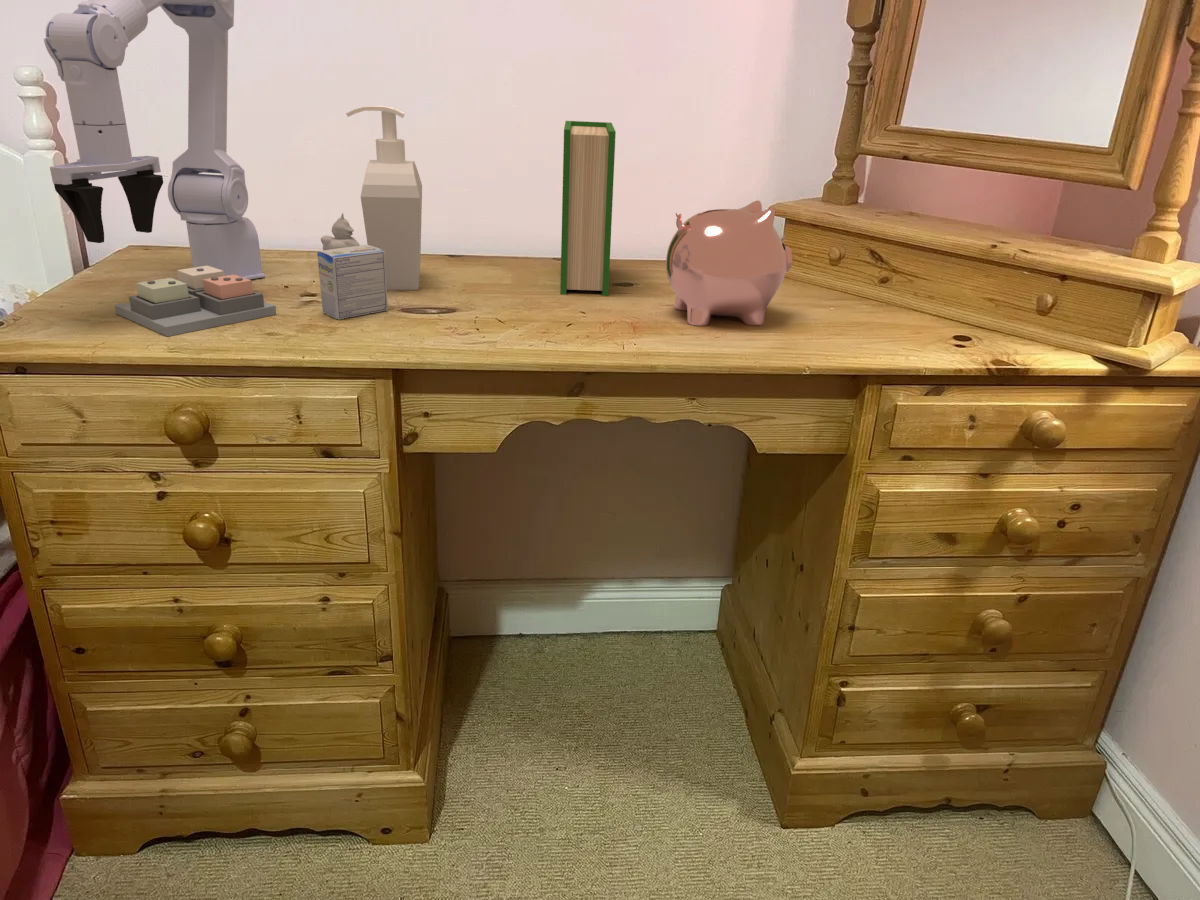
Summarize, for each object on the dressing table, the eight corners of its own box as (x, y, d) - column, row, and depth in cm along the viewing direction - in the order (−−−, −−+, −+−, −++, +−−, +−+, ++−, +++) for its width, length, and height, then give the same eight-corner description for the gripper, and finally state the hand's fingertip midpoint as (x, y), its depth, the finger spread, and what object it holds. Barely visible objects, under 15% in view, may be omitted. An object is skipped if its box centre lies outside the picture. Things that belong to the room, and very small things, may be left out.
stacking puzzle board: (222, 294, 128) (220, 274, 126) (276, 314, 120) (274, 292, 118) (116, 313, 117) (111, 291, 116) (167, 336, 109) (163, 312, 108)
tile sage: (172, 291, 117) (170, 276, 116) (188, 297, 114) (186, 282, 114) (138, 296, 114) (136, 281, 113) (155, 303, 111) (152, 287, 111)
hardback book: (608, 296, 136) (615, 131, 126) (560, 294, 136) (564, 129, 126) (605, 270, 152) (611, 122, 142) (562, 268, 152) (565, 120, 142)
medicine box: (372, 304, 126) (368, 243, 123) (389, 311, 123) (385, 249, 120) (321, 313, 121) (315, 250, 117) (338, 321, 118) (332, 256, 115)
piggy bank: (801, 330, 123) (817, 213, 117) (676, 331, 120) (685, 211, 114) (764, 301, 137) (777, 196, 130) (652, 302, 134) (659, 193, 127)
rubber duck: (354, 263, 149) (351, 215, 146) (316, 261, 149) (312, 213, 146) (365, 257, 154) (362, 210, 151) (328, 255, 154) (324, 208, 151)
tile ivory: (209, 278, 124) (207, 264, 123) (225, 284, 121) (223, 269, 121) (178, 283, 121) (176, 268, 120) (194, 289, 118) (192, 274, 117)
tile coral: (235, 287, 120) (233, 272, 119) (253, 293, 117) (251, 278, 117) (204, 292, 117) (202, 277, 116) (221, 299, 114) (219, 284, 113)
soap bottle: (362, 273, 143) (350, 102, 132) (425, 274, 144) (418, 105, 134) (355, 293, 131) (341, 108, 121) (423, 293, 133) (416, 110, 122)
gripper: (122, 118, 114) (140, 224, 120) (21, 124, 102) (47, 243, 107) (165, 121, 112) (182, 229, 118) (67, 128, 100) (91, 249, 105)
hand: (120, 236), depth 112 cm, fingers open, 7 cm apart
